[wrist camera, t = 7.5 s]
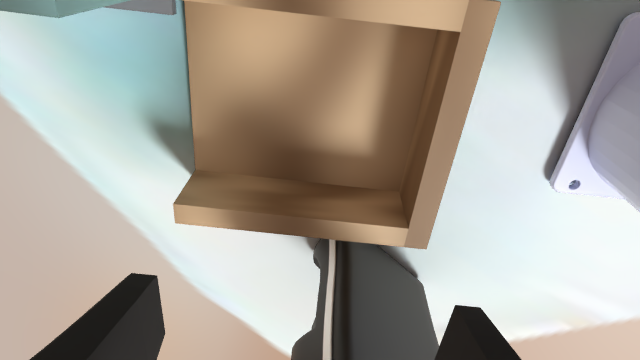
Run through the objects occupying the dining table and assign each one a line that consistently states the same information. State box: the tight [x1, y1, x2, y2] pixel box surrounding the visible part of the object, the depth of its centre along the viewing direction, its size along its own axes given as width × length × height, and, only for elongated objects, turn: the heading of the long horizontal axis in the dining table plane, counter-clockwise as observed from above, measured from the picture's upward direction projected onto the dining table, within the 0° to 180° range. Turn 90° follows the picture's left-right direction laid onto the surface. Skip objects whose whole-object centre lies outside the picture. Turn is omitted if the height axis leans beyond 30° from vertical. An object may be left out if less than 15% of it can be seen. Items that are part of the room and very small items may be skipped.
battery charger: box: [291, 239, 439, 360], centre depth 18 cm, size 7×4×11 cm, turn 46°
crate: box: [173, 0, 501, 249], centre depth 16 cm, size 11×10×3 cm
